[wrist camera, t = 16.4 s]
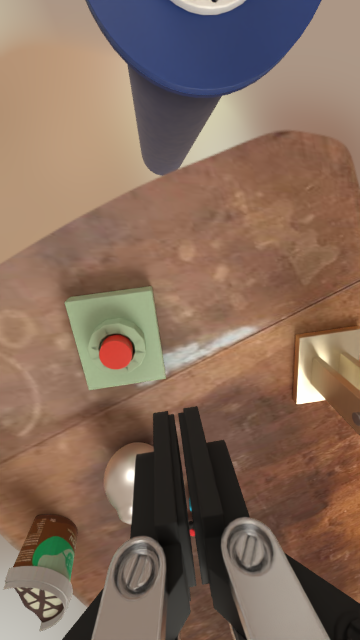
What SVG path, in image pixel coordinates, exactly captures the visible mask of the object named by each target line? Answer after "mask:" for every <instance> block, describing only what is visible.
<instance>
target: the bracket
mask: <svg viewBox="0 0 360 640" xmlns="http://www.w3.org/2000/svg"><path fill="white" fill-rule="evenodd" d="M359 356H360V327H359V326H351V327H344V328H338V329H331V330H324V331H317V332H311V333H304V334H297V335H296V337H295V360H294V384H293V401H294V402H295V403H296V404H302V403H308V402H315V401H321V400H327V401H328V402H329V404H330V405H331V406H332V407H333V408H334V409H335V410H336V411H337V412H338V413H339V414H340V415H341V416H342V417H343V418H344V419H345V420H346V421H347V423H348V424H349V425H350V426H351V427H352V428H353V429H354V430H355V431H356V432H357V433H358V434H359V435H360V361H359Z"/></svg>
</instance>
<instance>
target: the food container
mask: <svg viewBox="0 0 360 640" xmlns="http://www.w3.org/2000/svg"><path fill="white" fill-rule="evenodd" d="M77 534H78V532H77V527H76V526H75V524H74V523H73V522H72V521H70V520H69V519H67V518H65V517H62V516H59V515H52V514H46V515H39V516H36V518H35V520H34V522H33V524H32V526H31V529H30V531H29V533H28V535H27V537H26V540H25V542H24V544H23V546H22V548H21V551H20V553H19V555H18V557H17V559H16V562H15V564H14V566H13V568H9V570H8V573H7V577H6V580H5V582H6V583H5V586H4V589H9V588H15V590H16V591H17V593H18V594H19V596H20V598H21V600H22V602H23V604H24V606H25V607H27V608H28V609H29V610H31V611H33V612H34V613H35V614H36V615H37V616H38V617H39V619H40V620H41V621H42V622H41V626H40V631H43V630H46V629H48V628H50V627H52V626H53V625H55V624H57V623H58V622H59V621H60V620H61V619H62V617H63V615H64V613H65V612H66V610H67V607H68V605H69V602H70V600H71V597H72V594H73V588H72V585H71V583H70V578H71V572H72V566H73V560H74V553H75V547H76V541H77Z"/></svg>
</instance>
